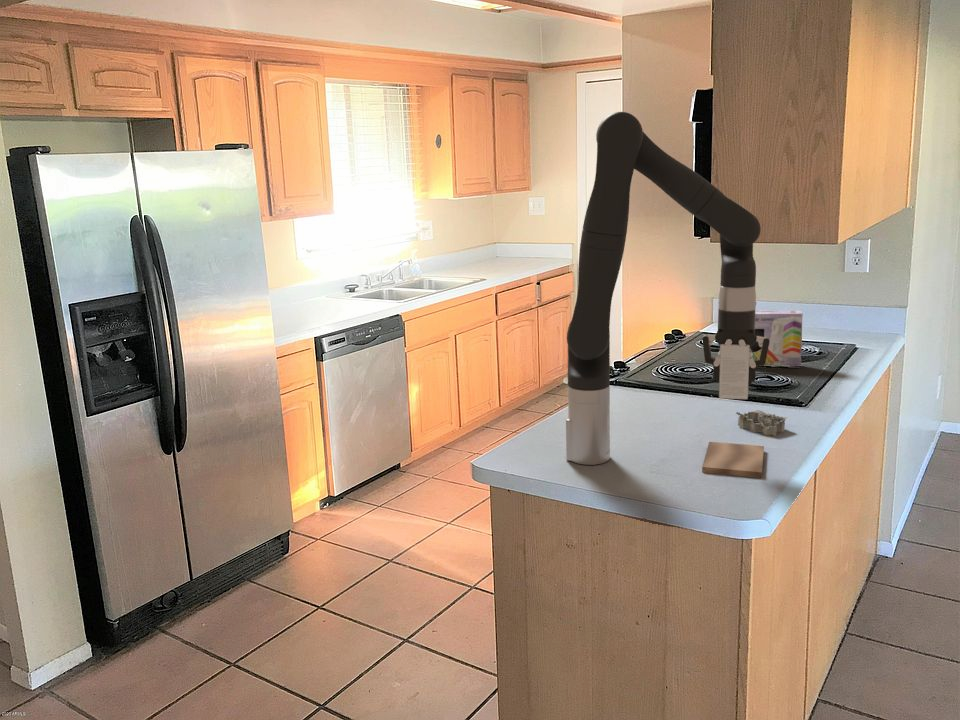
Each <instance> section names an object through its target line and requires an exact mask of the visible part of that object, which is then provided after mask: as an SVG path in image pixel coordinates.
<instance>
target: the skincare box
mask: <svg viewBox="0 0 960 720" xmlns="http://www.w3.org/2000/svg"><path fill="white" fill-rule="evenodd" d="M749 347H750V346H749V345H747V346H740V345H739V344H731V345H730V346H728V345H724V344H720V345H719V351H720V379H719V383H718V384H719V385H718V387H719V388H718V398H719V399H729V400H731V399H732V400H733V399H735V400H748V398H749V385H748V379H749Z"/></svg>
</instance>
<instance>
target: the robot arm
mask: <svg viewBox="0 0 960 720" xmlns="http://www.w3.org/2000/svg"><path fill="white" fill-rule="evenodd" d="M595 137H596V147H597V148H596V165H595V177H594V182H593V187H592V190H591V194H590V197H589V200H588V203H587V208H586V211H585V215H584V219H583V225H582V230H581V236H580V244H579V254H578V255H579V256H578V268H577V269H578V271H577V275H578V276H577V277H578V278H577V295H576V301H575V304H574V309H573V314H572V318H571V321H570V322H569V324H568V327H567V331H566V344H567V399H568V401H567V405H568V407H567V409H568V416H567V419H565V441H566V442H565V444H566V445H565V446H566V447H565V450H566V451H565V452H566V458H565V459H566V461H571V462H573V463H575V464H579V465H588V466H589V465H590V466H592V465H593V466H595V465H600V464H605V463H607V462H608V461H609V460H610V459H611V458H610V457H611V435H610V434H611V414H610V413H611V410H610V409H611V408H610V407H611V405H610V404H611V403H610V402H611V400H610V399H611V397H610V395H611V393H610V391H611V389H610V388H611V386H610V385H611V384H610V383H611V382H610V381H611V380H610V379H611V371H610V370H611V366H610V365H611V363H610V362H611V361H610V357H611V356H610V349H611V347H610V345H611V342H610V340H611V339H610V338H611V337H610V334H611V333H610V324H611V323H610V322H611V307H612V299H613V295H614V291H615V288H616V284H617V280H618V277H619V273H620V269H621V267H622V266H621V265H622V261H623V257H624V252H625V248H626V247H625V246H626V240H627V234H628V224H629V215H630V214H629V213H630V192H631V185H632V184H631V183H632V179H633V175H634V171H635V170H636V171H637V172H639V174H641V175H643V176H644V177H646V178H647V179H648V180H650V181H651V182H652V183H653V184H655V185H656V186H657V187H658V188H659V189H660V190H662V191H663V192H664V193H665V194H666V195H667V196H668V197H670V198H671V199H672V200H673V201H675V203H677V204H678V205H680V206H681V207H683V209H685V211H687V212H688V213H690V214H691V215H692V216H694V217H695V218H697V219H698V220H700V221H702V222H704V223H706V224H707V225H708V226H710V227H711V228H712V229H713V230H714V231H716V232H717V233H718V234H719V245H720V246H719V247H720V248H719V249H720V256H721V257H720V258H721V266H720V267H721V268H720V285H719V286H720V287H719V293H718V304H717V305H718V311H717V312H718V313H717V315H718V316H717V319H718V320H717V332H716V333H715V334H707V333H704V334H703V337H702V338H701V340H702V347H703V355H704V362H705V363H706V364H710V365H712V367H713V369H712V370H713V373H712V378H713V379H712V380H714V381H716V382H715V383H717V384H719V379H720V350H719V351H718V352H717V355H716V356H715V357H713V356H712V350H711V346H712V345H713V343H714V341H716V342H717V344H718V345H719V346H720V344H724V345H728V346H730V345H731V344H739V345H740V346H747V345H749V346H750V347H751V346H752V345H753V344H754V343H755V342H756V341H757V342H758V343H759V346H760V347H762V349H761V354H760V359H757V360H755V358H754V356H753V354H752V351H751V349H750V347H749V365H750V366H749V379H748V386H749V385H750V386H751V385H752V384H753V383H755V382H756V373H757V368H759V367H758V366H764V365H765V362H766V357H767V352H768V347H769V342H770V338H769V337H768V336H765V337H760V336H757V335H756V333H755V310H757V308H756V306H757V292H756V278H757V267H756V266H757V264H756V261H755V258H754V254H753V253H754V243H755V242H756V241H757V240H758V239H759V237H760V235H761V230H762V228H761V224H760V221H759V218H757V217H756V216H755V215H754V214H753V213H751V211H749V210H747V209H746V208H744V207H743V206H742V205H740V204H739V203H737V202H735V201H734V200H732V199H731V198H729V197H728V196H726V195H725V194H724V193H723V192H722V191H721V190H720V189H718V187H716V186H715V185H713V184H712V183H711V182H709V181H708V180H707V179H706V178H704V177H703V176H702V175H700V174H699V173H698V172H696V171H695V170H693V169H692V168H690V167H688V166H687V165H685V164H683V163H682V162H680V161H679V160H677V159H676V158H674V157H673V156H671V155H670V154H668V153H667V152H666V151H664V150H663V149H662V148H661V147H659V146H658V145H657V144H656V143H655V142H654V141H653V140H652V139H650V138H649V136H648V135H647V134H646V133H645V132H644V129H643V127H642V125H641V122H640V121H639V119H638V118H637V117H636V116H635V115H633V114H632V113H629V112H626V111H616V112H613V113H611V114H608V115H607V116H605V118H603V119H602V121H601V122H600V123H599V124H598V127H597V130H596V134H595Z"/></svg>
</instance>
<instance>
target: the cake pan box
mask: <svg viewBox="0 0 960 720" xmlns="http://www.w3.org/2000/svg"><path fill="white" fill-rule="evenodd" d="M755 333H756V335H757V336H760V337H765V336H768V337H769V338H770V342H769V347H768V352H767V357H766V362H765V365H790V366H798V365H799V366H800V365H801V366H802V345H803V312H802V310H779V309H778V310H777V309H776V310H775V309H762V310H757V309H756V310H755ZM750 349H751V351H752V354H753V356H754V358H755V360H757V359H760V354H761V349H762V347H760V346H759V343H758V342H757V341H756V342H755V343H754V344H753V345H752V346H751V347H750Z"/></svg>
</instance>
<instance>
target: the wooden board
mask: <svg viewBox="0 0 960 720" xmlns="http://www.w3.org/2000/svg"><path fill="white" fill-rule="evenodd" d="M764 451H765V445H754V444H752V445H751V444H742V443H741V444H740V443H729V442H718V441H717V442H716V441H708V444H707V448H706V452H705V455H704V459H703V463H702V469H701V472H702V473H707V474H719V475H729V476H739V477H751V478H763V477H762V476H763V467H764V466H763V463H764V455H765V454H764Z"/></svg>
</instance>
